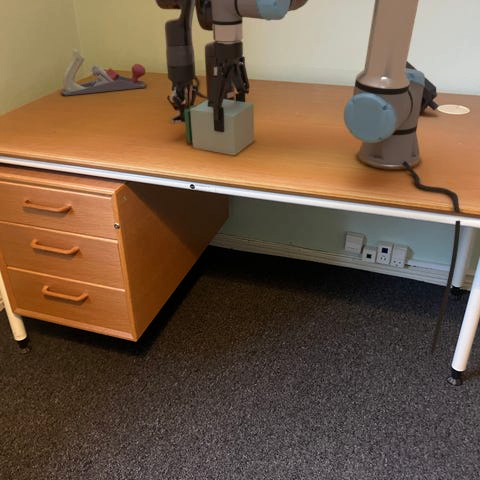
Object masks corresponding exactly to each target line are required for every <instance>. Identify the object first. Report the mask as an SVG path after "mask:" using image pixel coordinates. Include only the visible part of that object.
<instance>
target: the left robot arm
mask: <svg viewBox="0 0 480 480" xmlns="http://www.w3.org/2000/svg"><path fill="white" fill-rule="evenodd" d="M154 1H155V3H156V5H157V7H159V8H160V9H161V10H173V11H174V10H176V11H177V10H180V13H179V14H180V15H179V16H178V17H176V18H172V19H168V20H167V21H165V23H164V37H165V59H166V69H167V78H168V80H169V81H170V82H171V91H172V92H171V94H170V95H167V98H166V99H167V101H168V102H169V104H170V105H171V107H172V109H173V110H174V111H177V112H178V111H179V114H180V119H181V120H180V121H184V122H185V115H184V111H186V110H188V109H189V108H191V107H193V106H195V101H196V98H197V95H198V96H199V97H201V98H204V99H206V100H208V98H209V91H210V83H211V68H212V67H218V59H217V58H215V57H214V51H213V43H214V42H215V40H212V41H210V42H207V43H206V44H205V45H204V48H203V49H204V65H205V84H206V86H205V87H206V95H205V96H204V95H203V94H202V93H201V92H200V91H199V85H200V80H199V78H198V77H197V76H196V61H195V59H196V58H195V50H194V45H193V30H192V27H193V18H194V11H195V13H196V18H197V19H196V20H197V22H198V25H199V27H200V28H201V29H202V30H203V31H208V32H213V29H212V26H213V23H212V19H213V17H212V3H211V0H154ZM194 80H196V85H195V84H194ZM235 90H236V88H235V86H234V84H233V81H232V79H230V83H228V84H227V88H226V92H225V95H224V99H226V100H233V101H236V99H235V94H236V93H235Z"/></svg>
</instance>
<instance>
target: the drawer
mask: <svg viewBox="0 0 480 480" xmlns="http://www.w3.org/2000/svg"><path fill="white" fill-rule="evenodd" d="M205 101H206V100H202V101H200V102H198V103H197V104H194V105H193V106H191V108H189V109H188V110H186V111H184V115H185V122H184V121H181V119H180V113H178V114H176V115H174V116H172V117H170V118H169V119H168V122H169V124H170V125H174V124H180V125H184V126H185V138H186V143H193V141H192V127H191V112H190V109H192V108H194V107H195V106H197V105H199V104H201V103H203V102H205Z"/></svg>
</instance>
